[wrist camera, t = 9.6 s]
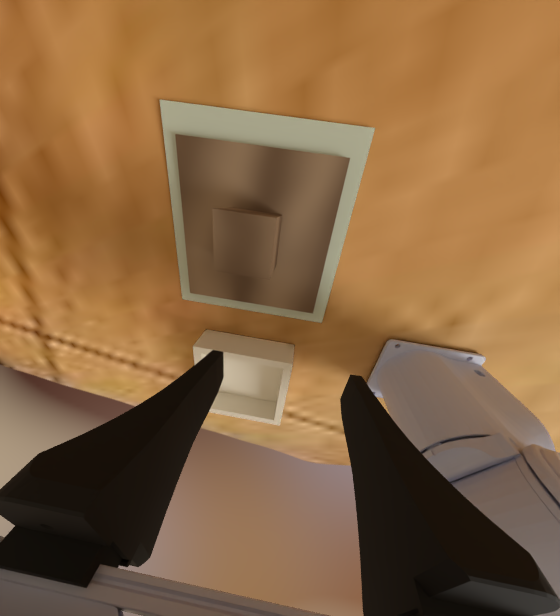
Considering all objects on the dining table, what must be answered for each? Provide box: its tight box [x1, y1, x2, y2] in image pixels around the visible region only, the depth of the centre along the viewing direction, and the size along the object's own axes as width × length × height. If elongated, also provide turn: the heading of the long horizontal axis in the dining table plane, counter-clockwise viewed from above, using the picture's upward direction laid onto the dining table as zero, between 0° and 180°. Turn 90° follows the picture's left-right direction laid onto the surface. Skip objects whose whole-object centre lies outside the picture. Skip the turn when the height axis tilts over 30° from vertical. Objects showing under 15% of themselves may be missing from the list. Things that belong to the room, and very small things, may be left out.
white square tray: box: [193, 329, 294, 426], centre depth 23 cm, size 10×10×3 cm
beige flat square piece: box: [160, 100, 375, 323], centre depth 17 cm, size 14×15×1 cm
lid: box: [175, 134, 350, 314], centre depth 15 cm, size 12×12×4 cm
